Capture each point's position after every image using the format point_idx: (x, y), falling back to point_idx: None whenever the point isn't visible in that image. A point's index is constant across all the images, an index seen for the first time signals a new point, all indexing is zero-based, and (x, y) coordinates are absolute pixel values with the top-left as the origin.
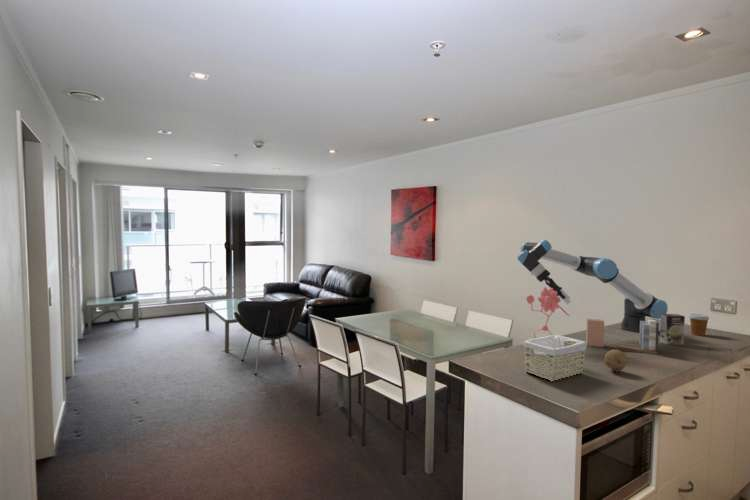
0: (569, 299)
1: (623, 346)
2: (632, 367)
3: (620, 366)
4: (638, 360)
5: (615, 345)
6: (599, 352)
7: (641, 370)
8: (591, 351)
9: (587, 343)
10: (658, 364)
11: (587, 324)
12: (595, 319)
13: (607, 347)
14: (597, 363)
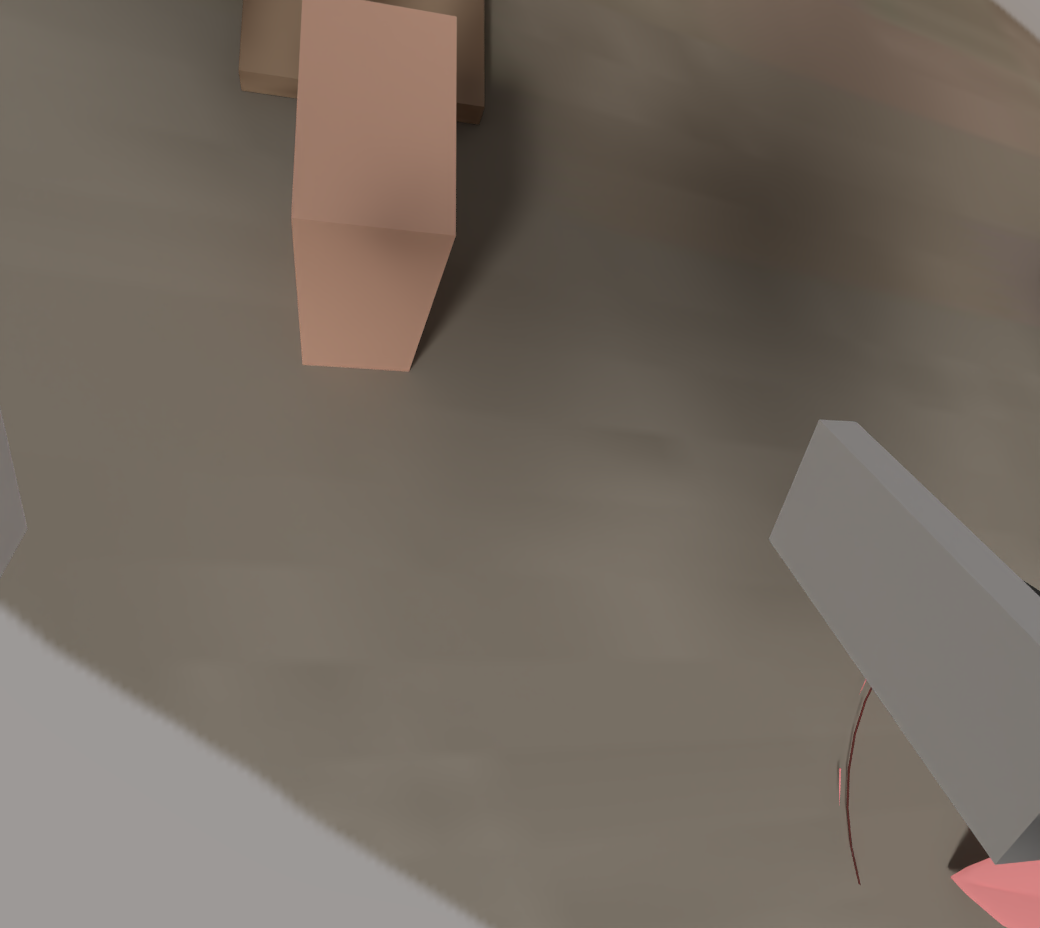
0: (893, 460)
1: None
2: (931, 157)
3: None
4: (739, 60)
5: None
6: (632, 299)
7: (967, 122)
8: (629, 363)
9: (412, 360)
10: None
11: (433, 266)
12: (321, 97)
13: None
14: (957, 373)
